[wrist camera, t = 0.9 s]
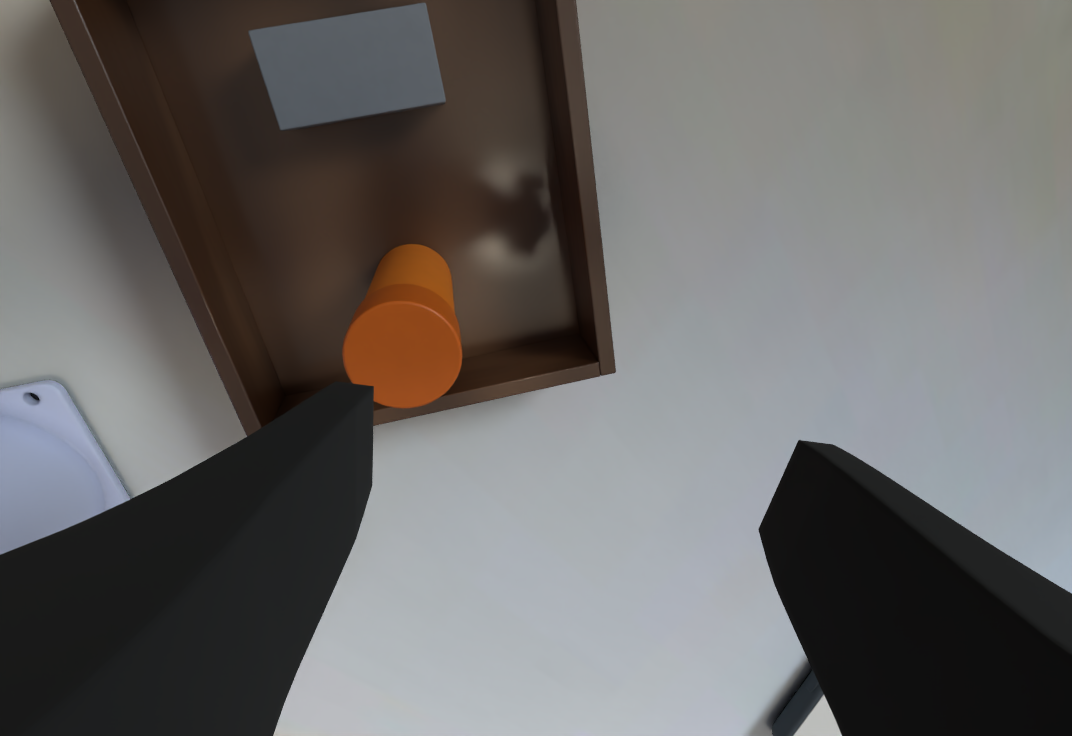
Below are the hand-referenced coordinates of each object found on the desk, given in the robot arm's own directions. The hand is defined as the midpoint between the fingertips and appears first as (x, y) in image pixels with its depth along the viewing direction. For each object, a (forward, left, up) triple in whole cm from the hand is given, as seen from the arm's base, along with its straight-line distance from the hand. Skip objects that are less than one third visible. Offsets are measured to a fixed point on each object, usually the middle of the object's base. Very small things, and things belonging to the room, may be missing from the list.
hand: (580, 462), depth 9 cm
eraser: (-3, +7, -13) cm, 15 cm away
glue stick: (-3, 0, -13) cm, 14 cm away
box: (-3, +4, -14) cm, 14 cm away
